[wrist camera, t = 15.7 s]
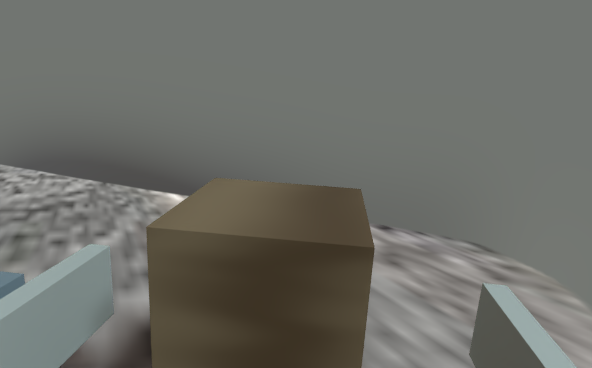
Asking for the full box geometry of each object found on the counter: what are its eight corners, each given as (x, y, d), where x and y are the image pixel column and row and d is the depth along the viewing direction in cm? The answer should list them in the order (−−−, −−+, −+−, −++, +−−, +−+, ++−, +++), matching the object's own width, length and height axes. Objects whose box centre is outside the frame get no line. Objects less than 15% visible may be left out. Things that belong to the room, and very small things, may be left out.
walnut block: (160, 559, 11) (146, 227, 9) (214, 416, 16) (215, 177, 13) (336, 589, 11) (374, 247, 8) (337, 432, 15) (360, 189, 13)
